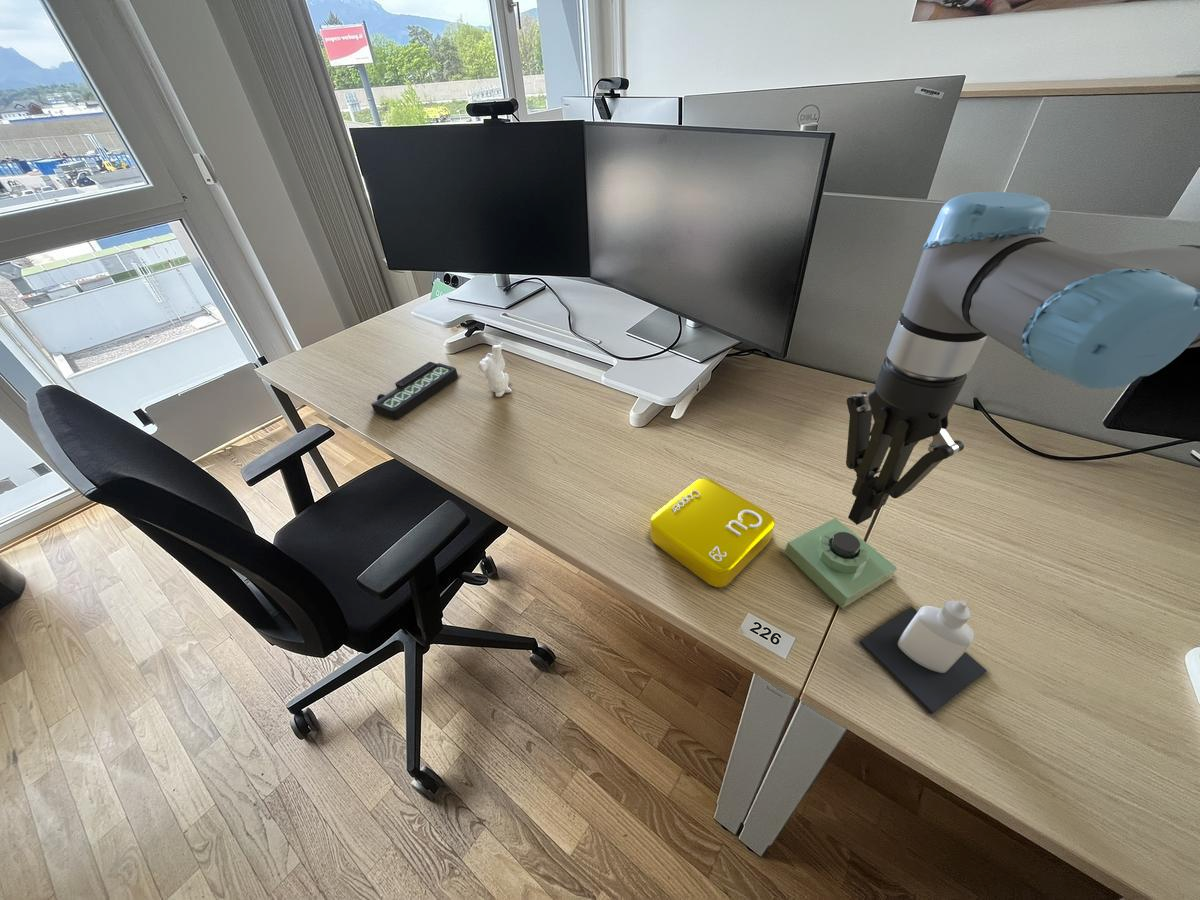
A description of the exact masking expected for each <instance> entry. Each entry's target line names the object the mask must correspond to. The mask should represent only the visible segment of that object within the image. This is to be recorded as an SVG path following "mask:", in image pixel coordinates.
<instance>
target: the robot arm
mask: <svg viewBox="0 0 1200 900" xmlns="http://www.w3.org/2000/svg"><path fill="white" fill-rule="evenodd" d="M1050 214H1051V205H1050V204H1049V202H1048V201H1045V200H1044V199H1043V198H1041V197H1038V196H1035V195H1032V194H1027V193H1019V192H1018V193H1017V192H1010V191H1009V192H1008V191H977V192H969V193H963V194H960V195H957V196H954V197H953V198H951V199H949V200H948V201H946V203H945V204H943V206H942V207H941V209H940V211H939V213H938V215H937V217H936V220H935V221H934V223H933V226H932V228H931V231H930V233H929V235H928V238H927V239H926V242H925V243H923V246H922V249H923V251H922V254H921V256H920V259H919V262H918V265H917V268H916V270H915V273H914V276H913V279H912V282H911V285H910V287H909V291H908V292H907V296H906V298H905V301H904V305H903V307H902V310H901V313H900V316H899V319H898V321H897V323H896V327H895V328H894V331H893V333H892V337H891V339H890V342H889V345H888V347H887V350H886V356H885V358H884V359H883V361H882V364H881V367H880V370H879V373H878V375H877V378H876V381H875V383H874V388H873V389H872V390H871V391H870V392H869V393H868V392H867V391H861V392H858V393H856V394H854V395H852V396H849V397H847V398H846V405H847V406H846V407H847V409H848V414H849V419H848V433H847V446H846V459H845V465H846V467H847V468H848V469H849V470H853V471H854V472H855V473H856V480H855V482H854V485H853V487H852V489H851V495H853V497H855V500H854V502H853V503H852V506H851V509H850V511H849V514H848V517H847V518H848V520H850V521H851V522H853V523H854V524H855V525H856V526H858V525H860V524H861V523H864V522H865V521H868V520H869V519H871V518H872V517H873V514H874V512H875V511H876V510H879V509H881V508H882V507H883V506H885V505H886V504H887V501H888V500H889V497H891V498H892V499H898V498H900V497H902V496H904V495H906V494H907V493H909V492H911V491H912V490H913V489H915V488H916V487H917V486H918V485H919V484H920V483H921V482H922V481H923V480H924V478H926V477H927V476H928V475H929V474H930V473H931V472H932V471H933V470H934V469H935V468H936V467H937V466H939V464H940V463H941V462H943V460H946V459H949V458H950V457H952V456H954V455H955V454H958V453H960V452H961V451H963V450H964V448H965V445H964V443H963V442H962V441H961V440H956V439H955V440H953V439H952V436H950V434H949V432H948V431H947V428H948V426H949V413H950V411H951V409H952V408H953V406H954V404H955V402H956V400H957V399H958V396H959V395H960V393H961V391H962V389H963V388H964V387H963V386H964V385H965V383H966V381H967V379H968V373H969V372H970V371H971V370H972V369H973V366H974V365H975V363H976V361H977V359H978V356H979V354H980V352H981V351H982V349H983V347H984V344H985V342H986V341H987V339H988V337H990V338H992V339H993V340H995V341H996V342H998V343H1000V344H1001V345H1003V346H1005V347H1006V348H1008V349H1009V350H1012V351H1013V352H1015V353H1016V354H1018V355H1019V356H1021V357H1023V358H1024V359H1026V360H1028V361H1030V362H1031V364H1033V365H1034V366H1036V367H1038V368H1039V369H1040V370H1042V371H1047V372H1049V373H1050V374H1051V375H1055V376H1056V375H1057V376H1060V377H1062V378H1064V379H1066V380H1068V381H1070V382H1073V383H1074V384H1076V385H1078V386H1081V387H1084V388H1088V389H1094V390H1110V389H1117V388H1121V387H1125V386H1128V385H1130V384H1133V383H1134V382H1135V381H1136V380H1137V379H1139V378H1140V377H1149V376H1151V375H1153V374H1156V373H1157V372H1158V371H1160V370H1162V369H1163V368H1165V367H1166V366H1167V365H1169V364H1170V363H1172V362H1173V361H1174V360H1175V359H1177V358H1178V357H1180V355H1181V354H1182V353H1183V352H1184V351H1185V350H1186V349H1191V348H1198V347H1199V348H1200V243H1195V244H1194V243H1193V244H1180V245H1173V246H1164V247H1156V248H1155V247H1154V248H1146V249H1137V250H1131V251H1121V252H1114V253H1097V252H1089V251H1085V250H1083V249H1079V248H1075V247H1072V246H1068V245H1064V244H1061V243H1058V242H1057V241H1053V240H1050V239H1049V238H1046V237H1044V236H1041V235H1042V234H1043V233H1044V232H1045V230H1046V229H1047V227H1046V223H1047V222H1048V218H1049V217H1050ZM872 420H873V421H874V422H873V424H872ZM931 437H932V442H930V443H929V445H928V447H927V451H928V452H927V453H925V454H924V455H922V456H921V457H920V458H919V459H918V460H917V461H916V462H915V463H914V464H913V465H912V466H911V467H910V469H908V471H906V472H905V474H904V475H903V476H902V473H903V472H904V469H905V468H906V465H907V462H909V461H908V460H909V458H910V457H911V454H912V452H913V450H914V448H915V446H917V445H918V443H920V441H923V440H926V439H928V438H931ZM888 450H889V451H888ZM884 459H885V460H884ZM882 464H883V465H882ZM881 466H882V467H881ZM877 474H878V475H877Z"/></svg>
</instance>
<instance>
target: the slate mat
mask: <svg viewBox="0 0 1200 900" xmlns="http://www.w3.org/2000/svg"><path fill="white" fill-rule="evenodd" d="M917 612H918V610H917V609H915V608H914V607H913V606H910V607H909V608H907V609H906V610H904V611H903V612H901V613H900V614H898V615H896V616H894V618H892V619H890V620H889V621H888V622H886V623H884V624H883V625H881V626H880V627H879V628H877V629H876V630H874V631H872V632H870V633H869V634H868V635H866V636H865V637H863V638H862V639H860V640H859V644H860V645H861V646H862V647H863V648H864V649H865V650H866V651H867V652H868V653H869V654H870V655H871V656H872V657H873V658H874V659H875V660H876V661H877V662H878V663H879V664H880V665H881V666H882V667H883V668H884V669H885V670H886V671H887V672H888V673H889V674H890V675H891V676H892V677H893V678H894V679H895V680H896V681H897V682H898V683H899V684H900V685H901V686H902V687H903V688H905V690H906V691H907V692H908V693H909V694H910V695H911V696H912V697H914V699H916V701H917V702H918V703H920V705H921V706H922V707H924V708H925V709H926V711H928V712H929V713H930V715H933V714H935V712H937V711H938V710H939V709H940V708H942V707H943V706H944V705H946V704H947V703H948V702H950V701H951V700H952V699H953V698H955V697H956V696H958V694H960V693H961V692H963V691H964V690H965V689H966V688H967V687H969V686H970V685H971V684H972V683H974V682H975V681H976V680H978V679H979V678H980V677H982V676H983V675H984V674H986V673H987V671H988V670H987V669H986V668H985V667H984V666H983V665H981V664H980V663H979V662H978V661H976V660H975V659H974V658H973V657H972V656H971V655H970V654H968V653H967V652H966V651H965V652H964V653H963V654H962V656H961V657H960V658H959V659H958V660H957V661H956V662H955V663H954V664H953V665H952V666H951V667H950V669H949V670H948V671H946V672H945V673H940V672H936V671H933V670H930V669H928V668H925V667H923V666H921V665H920V664H918V663H916V662H915V661H913V660H912V659H911V658H909V657H908V656H907V655H906V654H905V653H904V652H903V651H902V650H901V649H900V648H899V646H898V641H899V639H900V637H901V635H902V633H903V632H904V630H905V629H906V628H907V626H908V625H909V623H910V622H911V620H912V619H913V618H914V616H915V615H916V614H917Z"/></svg>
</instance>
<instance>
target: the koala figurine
mask: <svg viewBox="0 0 1200 900" xmlns="http://www.w3.org/2000/svg"><path fill="white" fill-rule="evenodd" d="M504 344H505V343H504V342H500V343H499V344H497V345H496V344H494V345H492V346H491V352H488V353H487V354H486V355H485V357H484V358H482V359H481V360H480V361H479V362H478V367H477V368H478V370H479V371H481V373H485V374H484V377H485V378H486V380H487V381H486V386H487V387H488V389H489V390H490V391H492V392H494V393H495V396H496V397H497V398H500V397H502V396H504V394H507V393H512V388H510V387H509V380H510V378H509V377H510V376H509V374H508V373H507V372H504V370H505V368H506V361H505V359H504V356H503V354H502V349H503V348H504Z"/></svg>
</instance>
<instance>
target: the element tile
mask: <svg viewBox="0 0 1200 900" xmlns="http://www.w3.org/2000/svg"><path fill="white" fill-rule="evenodd" d="M775 523H776V520H775V517H773V515H772V514H771V513H770V512H768V511H767V510H764V509H763V508H761V507H759V506H758V505H756V504H754V503H752V502H751V501H749V500H747V499H745V498H744V497H743V496H741V495H739V494H737V493H735V491H732V490H730V489H729V488H727V487H725V486H723V485H721V484H720V483H718V482H717V481H715V480H713V479H711V478H707V477H702V478H699V479H696V480H695V481H694V482H693V483H691V484H690V485H689V486H687V487H686V488H685V489H684V490H682V492H680V493H678V495H676V496H675V497H674V498H673V499H671V500H670V501H669V502H668V503H666V504H665V505H663V506H662V507H661V508H660V509H659V510H657V511H656V512H655V513H654V514H653V515H652V516H651V518H650V539H651V541H652V542H653V543H654V545H657V546H658V548H660V549H662V550H663V551H664V552H665V553H666V554H668V555H670V556H671V557H672V558H674V559H675V560H676V561H677V562H679V563H680V564H681V565H682V566H684V567H685V568H686V569H688V570H689V571H690V572H692V573H693V574H694V575H696V576H697V577H699V579H701V580H702V581H704V582H705V583H706V584H708V585H709V586H711V587H714V588H723V587H725V586H727V585H729V584H730V583H731V582H732V581H733V580H734V579H735V578H736V577H737V576H738V575H739V574H740V572H742V571H743V570H744V569H745V568H746V566H747V565H749V563H750V562H752V561H753V560H754V558H755V557H756V556H757V555H758V554H760V552H762V550H763V549H765V547H766V546H767V545H768V544H769V543H770V542H771V540H772V537H773V536H772V535H773V532H774V528H775V525H776V524H775Z"/></svg>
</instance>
